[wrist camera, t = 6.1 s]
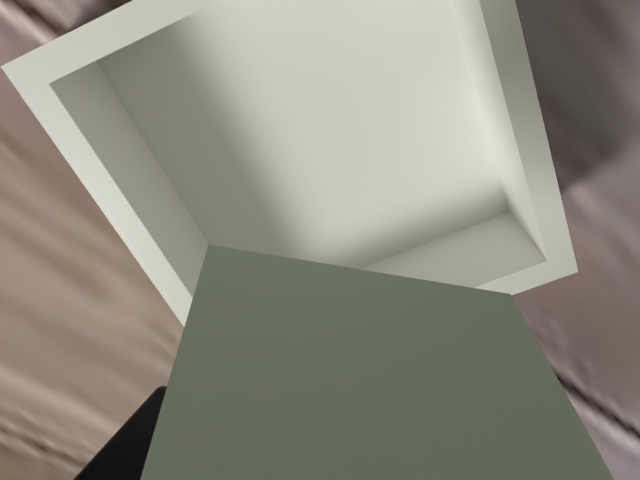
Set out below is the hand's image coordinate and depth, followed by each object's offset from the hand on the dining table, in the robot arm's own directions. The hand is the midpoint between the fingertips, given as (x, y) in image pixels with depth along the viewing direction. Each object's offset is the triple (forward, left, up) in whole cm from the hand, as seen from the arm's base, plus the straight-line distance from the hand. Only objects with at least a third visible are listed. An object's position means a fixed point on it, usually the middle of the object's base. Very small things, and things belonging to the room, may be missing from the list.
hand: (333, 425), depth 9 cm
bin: (+1, +1, -12) cm, 12 cm away
